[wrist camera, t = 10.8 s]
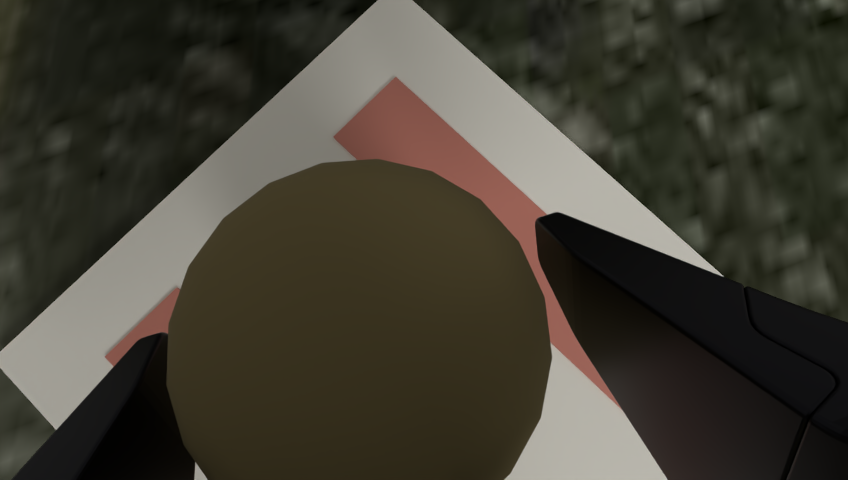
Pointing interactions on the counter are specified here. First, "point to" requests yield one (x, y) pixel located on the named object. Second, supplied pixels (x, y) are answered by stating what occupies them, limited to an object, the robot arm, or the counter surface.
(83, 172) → the counter surface
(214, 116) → the counter surface
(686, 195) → the counter surface
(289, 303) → the cork
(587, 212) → the letter board
